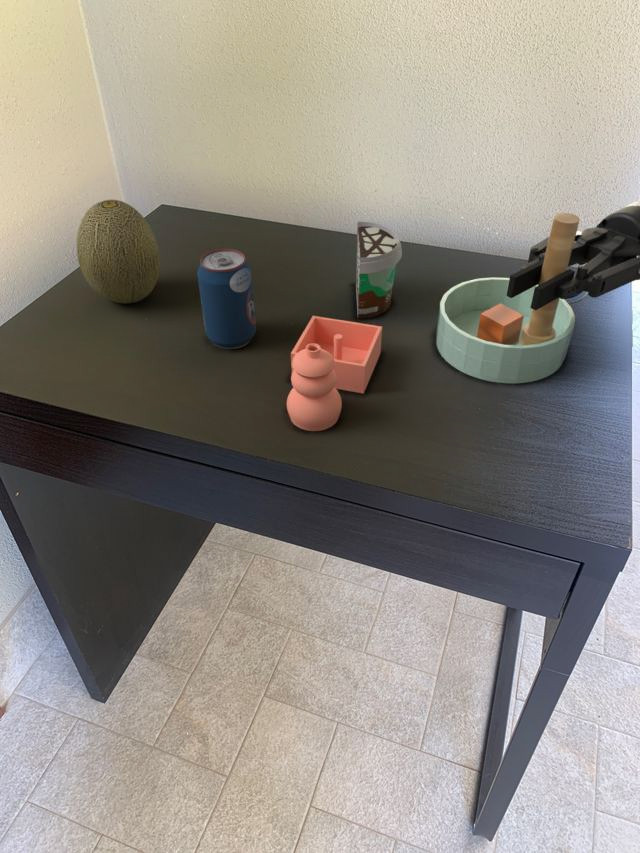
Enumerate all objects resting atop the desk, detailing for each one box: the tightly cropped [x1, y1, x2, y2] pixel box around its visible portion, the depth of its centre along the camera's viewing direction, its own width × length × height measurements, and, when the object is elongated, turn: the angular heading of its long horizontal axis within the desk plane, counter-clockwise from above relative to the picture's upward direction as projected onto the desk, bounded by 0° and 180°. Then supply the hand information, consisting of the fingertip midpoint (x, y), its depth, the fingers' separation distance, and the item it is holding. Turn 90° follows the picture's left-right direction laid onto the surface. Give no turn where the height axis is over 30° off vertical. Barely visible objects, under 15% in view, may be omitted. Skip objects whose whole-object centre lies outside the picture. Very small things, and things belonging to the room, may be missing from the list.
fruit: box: [76, 199, 161, 304], centre depth 98 cm, size 11×11×15 cm
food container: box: [355, 220, 403, 319], centre depth 98 cm, size 12×6×10 cm, turn 179°
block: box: [477, 304, 524, 345], centre depth 92 cm, size 4×4×4 cm
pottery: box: [286, 315, 383, 432], centre depth 83 cm, size 18×10×10 cm, turn 163°
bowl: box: [435, 276, 576, 384], centre depth 91 cm, size 17×17×6 cm
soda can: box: [196, 248, 257, 350], centre depth 91 cm, size 7×7×12 cm
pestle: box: [521, 212, 580, 346], centre depth 82 cm, size 4×4×17 cm
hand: (523, 292), depth 79 cm, fingers closed on pestle, 3 cm apart
